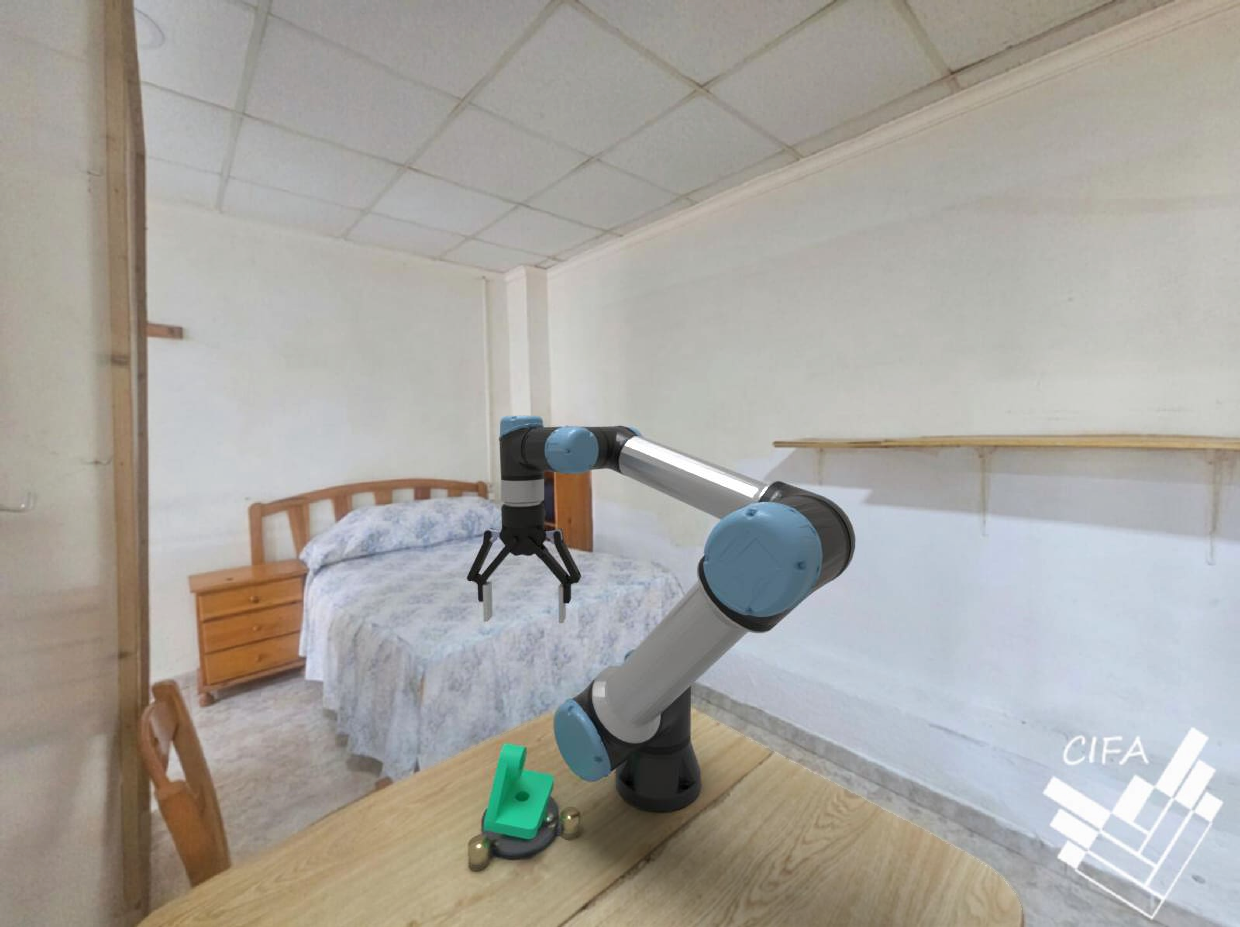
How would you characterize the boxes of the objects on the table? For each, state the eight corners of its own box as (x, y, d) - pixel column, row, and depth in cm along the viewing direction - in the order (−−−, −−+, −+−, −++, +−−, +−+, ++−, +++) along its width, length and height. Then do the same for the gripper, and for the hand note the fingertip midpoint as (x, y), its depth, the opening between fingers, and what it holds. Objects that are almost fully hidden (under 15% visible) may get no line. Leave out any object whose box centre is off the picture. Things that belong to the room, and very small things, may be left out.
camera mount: (533, 847, 75) (540, 780, 74) (482, 836, 76) (489, 770, 75) (553, 789, 87) (559, 732, 86) (510, 781, 88) (515, 723, 87)
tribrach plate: (589, 794, 89) (589, 778, 89) (568, 880, 72) (568, 859, 72) (502, 788, 91) (501, 771, 90) (461, 869, 74) (461, 850, 74)
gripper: (595, 500, 94) (596, 613, 96) (462, 499, 96) (465, 610, 98) (589, 506, 87) (591, 629, 88) (445, 505, 89) (449, 626, 90)
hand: (525, 619), depth 93 cm, fingers open, 13 cm apart
